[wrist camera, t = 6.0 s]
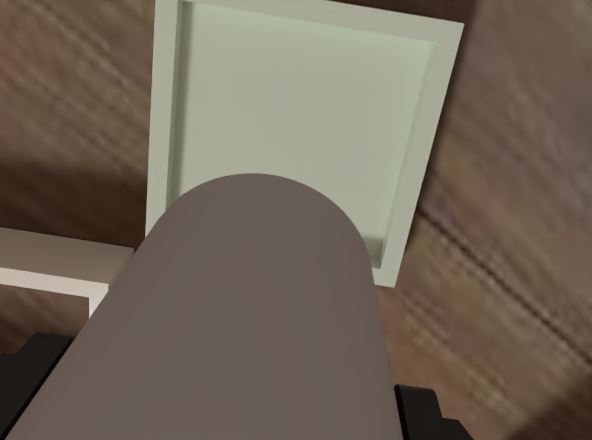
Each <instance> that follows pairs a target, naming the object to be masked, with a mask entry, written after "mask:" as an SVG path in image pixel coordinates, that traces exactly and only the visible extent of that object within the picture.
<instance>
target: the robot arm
mask: <svg viewBox="0 0 592 440" xmlns="http://www.w3.org/2000/svg"><path fill="white" fill-rule="evenodd" d="M75 338H76V336H69V335H62V334H56V333H49V332H42V331H38V332H36V333H35V334H33V335H32V337H31V338H30V339H29V340H28V341H27V343H26V344H25V345H24V346H23V347H22V349H21V350H20V351H19V352H18V353H17V355H13V354H6V353H3V354H1V355H0V440H5V438H6V437H7V435H8V434H9V433H10V431H11V430H12V428H13V427H14V425H15V424H16V423H17V421H18V420H19V418H20V417H21V415H22V414H23V413H24V411H25V410H26V408H27V407H28V405H29V404H30V403H31V401H32V400H33V398H34V397H35V395H36V394H37V392H38V391H39V390H40V388H41V387H42V385H43V384H44V382H45V381H46V380H47V378H48V377H49V375H50V374H51V372H52V371H53V370H54V368H55V367H56V365H57V364H58V362H59V361H60V359H61V358H62V357H63V355H64V354H65V352H66V351H67V349H68V348H69V347H70V345H71V344H72V342H73V341H74V339H75ZM394 392H395V397H396V403H397V408H398V414H399V419H400V425H401V430H402V435H403V440H473V438H472V437H471V436H470V434H469V433H468V432H467V431H466V429H465V428H464V427H463V425H462V424H461V423H460V422H459V420H454V419H448V418H442V414H441V411H440V407H439V404H438V400H437V396H436V393H435V392H434V390H432V389H426V388H420V387H413V386H406V385H399V384H396V385H395V387H394Z"/></svg>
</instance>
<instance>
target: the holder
mask: <svg viewBox="0 0 592 440" xmlns="http://www.w3.org/2000/svg"><path fill="white" fill-rule="evenodd" d="M133 255H134V248H131V247H124V246H118V245H111V244H105V243H99V242H92V241H86V240H79V239H73V238H67V237H60V236H54V235H47V234H41V233H35V232H28V231H22V230H15V229H9V228H3V227H0V284H6V285H13V286H19V287H26V288H32V289H39V290H45V291H52V292H58V293H65V294H71V295H78V296H84V297H89V318H90V316H91V315H92V314H93V312H94V311H95V309H96V308H97V306H98V305H99V304H100V302H101V301H102V299H103V298H104V296H105V295H106V294H107V292H108V291H109V289H110V288H111V286H112V285H113V284H114V282H115V281H116V279H117V278H118V276H119V275H120V273H121V272H122V271H123V269H124V268H125V266H126V265H127V263H128V262H129V261H130V259H131V258H132V256H133Z"/></svg>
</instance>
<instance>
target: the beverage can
mask: <svg viewBox="0 0 592 440" xmlns="http://www.w3.org/2000/svg"><path fill="white" fill-rule="evenodd" d="M5 440H403V435H402V430H401V425H400V419H399V414H398V408H397V403H396V397H395V392H394V387H393V381H392V376H391V370H390V365H389V359H388V354H387V349H386V343H385V338H384V332H383V327H382V321H381V316H380V311H379V305H378V300H377V294H376V289H375V283H374V278H373V273H372V267H371V262H370V258H369V254H368V251H367V248H366V245H365V243H364V241H363V239H362V237H361V235H360V233H359V231H358V230H357V228H356V227H355V225H354V224H353V222H352V221H351V220H350V218H349V217H348V216H347V215H346V214H345V212H344V211H343V210H342V209H341V208H340V207H339V206H337V205H336V204H335V203H334V202H333V201H331V200H330V199H329V198H327V197H326V196H325V195H323V194H322V193H320V192H318V191H317V190H315V189H313V188H311V187H309V186H307V185H305V184H303V183H300V182H297V181H295V180H292V179H289V178H285V177H281V176H277V175H270V174H261V173H244V174H234V175H228V176H223V177H219V178H216V179H213V180H210V181H207V182H205V183H202V184H200V185H198V186H196V187H194V188H192V189H191V190H189V191H187V192H186V193H184V194H183V195H181V196H180V197H179V198H178V199H177V200H176V201H175V202H174V203H173V204H172V205H171V206H170V207H169V208H168V209H167V210H166V211H165V212H164V213H163V214H162V216H161V217H160V218H159V219H158V220H157V222H156V223H155V225H154V226H153V228H152V229H151V230H150V232H149V233H148V235H147V236H146V238H145V239H144V240H143V242H142V243H141V245H140V246H139V248H138V249H137V251H136V252H135V253H134V255H133V256H132V258H131V259H130V261H129V262H128V263H127V265H126V266H125V268H124V269H123V271H122V272H121V273H120V275H119V276H118V278H117V279H116V281H115V282H114V284H113V285H112V286H111V288H110V289H109V291H108V292H107V294H106V295H105V296H104V298H103V299H102V301H101V302H100V304H99V305H98V306H97V308H96V309H95V311H94V312H93V314H92V315H91V316H90V318H89V319H88V321H87V322H86V324H85V325H84V327H83V328H82V329H81V331H80V332H79V334H78V335H77V337H76V338H75V339H74V341H73V342H72V344H71V345H70V347H69V348H68V349H67V351H66V352H65V354H64V355H63V357H62V358H61V359H60V361H59V362H58V364H57V365H56V367H55V368H54V370H53V371H52V372H51V374H50V375H49V377H48V378H47V380H46V381H45V382H44V384H43V385H42V387H41V388H40V390H39V391H38V392H37V394H36V395H35V397H34V398H33V400H32V401H31V403H30V404H29V405H28V407H27V408H26V410H25V411H24V413H23V414H22V415H21V417H20V418H19V420H18V421H17V423H16V424H15V425H14V427H13V428H12V430H11V431H10V433H9V434H8V435H7V437H6V438H5Z"/></svg>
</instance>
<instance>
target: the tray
mask: <svg viewBox="0 0 592 440" xmlns="http://www.w3.org/2000/svg"><path fill="white" fill-rule="evenodd" d="M463 27H464V23H460V22H456V21H451V20H445V19H439V18H433V17H427V16H421V15H416V14H410V13H404V12H398V11H392V10H386V9H380V8H374V7H368V6H362V5H356V4H350V3H344V2H338V1H332V0H156V3H155V26H154V48H153V71H152V94H151V117H150V140H149V163H148V185H147V208H146V231H145V238H146V236H147V235H148V233H149V232H150V230H151V229H152V228H153V226H154V225H155V223H156V222H157V220H158V219H159V218H160V217H161V216H162V214H163V213H164V212H165V211H166V210H167V209H168V208H169V207H170V206H171V205H172V204H173V203H174V202H175V201H176V200H177V199H178V198H179V197H180V196H181V195H183V194H184V193H186V192H187V191H189V190H191V189H192V188H194V187H196V186H198V185H200V184H202V183H205V182H207V181H210V180H213V179H216V178H219V177H223V176H228V175H234V174H244V173H261V174H270V175H277V176H281V177H285V178H289V179H292V180H295V181H297V182H300V183H303V184H305V185H307V186H309V187H311V188H313V189H315V190H317V191H318V192H320V193H322V194H323V195H325V196H326V197H327V198H329V199H330V200H331V201H333V202H334V203H335V204H336V205H337V206H339V207H340V208H341V209H342V210H343V211H344V212H345V214H346V215H347V216H348V217H349V218H350V220H351V221H352V222H353V224H354V225H355V227H356V228H357V230H358V231H359V233H360V235H361V237H362V239H363V241H364V243H365V245H366V248H367V251H368V254H369V258H370V262H371V267H372V273H373V278H374V283H375V285H381V286H388V287H395V283H396V279H397V275H398V272H399V268H400V264H401V260H402V257H403V253H404V249H405V245H406V242H407V238H408V234H409V230H410V227H411V223H412V219H413V215H414V211H415V208H416V204H417V200H418V196H419V193H420V189H421V185H422V181H423V178H424V174H425V170H426V166H427V163H428V159H429V155H430V151H431V147H432V144H433V140H434V136H435V132H436V129H437V125H438V121H439V117H440V114H441V110H442V106H443V102H444V99H445V95H446V91H447V87H448V83H449V80H450V76H451V72H452V68H453V65H454V61H455V57H456V53H457V50H458V46H459V42H460V38H461V35H462V31H463Z"/></svg>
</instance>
